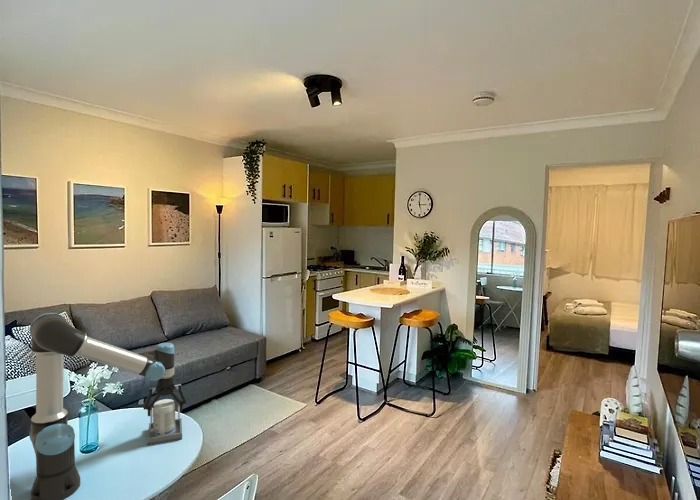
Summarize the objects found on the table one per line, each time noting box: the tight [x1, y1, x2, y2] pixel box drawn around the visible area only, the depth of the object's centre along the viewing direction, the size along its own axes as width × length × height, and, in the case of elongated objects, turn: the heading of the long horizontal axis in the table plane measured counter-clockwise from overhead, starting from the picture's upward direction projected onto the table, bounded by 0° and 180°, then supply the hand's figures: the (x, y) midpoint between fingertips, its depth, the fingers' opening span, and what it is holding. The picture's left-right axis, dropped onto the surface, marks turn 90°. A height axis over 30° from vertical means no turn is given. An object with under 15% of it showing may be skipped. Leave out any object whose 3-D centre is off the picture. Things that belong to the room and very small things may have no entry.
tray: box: [146, 417, 183, 446], centre depth 191 cm, size 15×15×3 cm
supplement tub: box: [152, 398, 176, 437], centre depth 190 cm, size 10×10×15 cm
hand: (165, 420), depth 190 cm, fingers open, 11 cm apart
